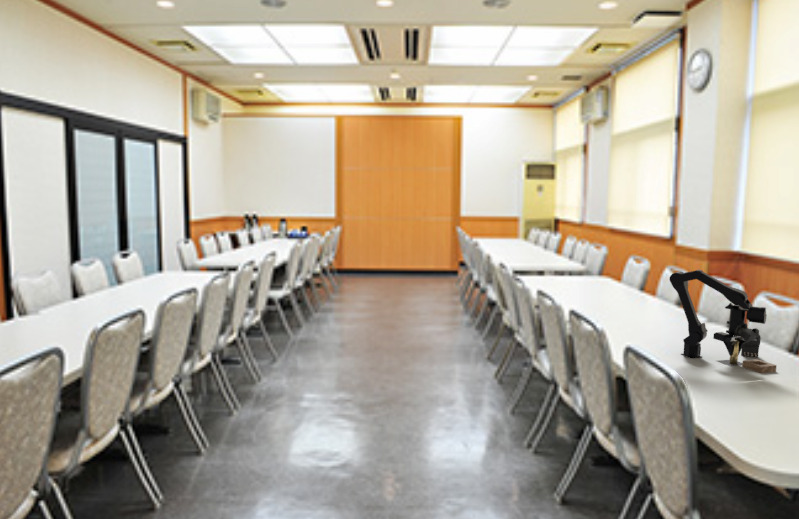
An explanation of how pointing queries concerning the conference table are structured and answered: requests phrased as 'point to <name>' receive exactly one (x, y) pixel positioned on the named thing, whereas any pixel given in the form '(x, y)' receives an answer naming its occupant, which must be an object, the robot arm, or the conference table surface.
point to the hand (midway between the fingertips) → (733, 355)
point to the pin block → (759, 366)
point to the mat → (729, 363)
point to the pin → (735, 354)
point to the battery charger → (751, 348)
